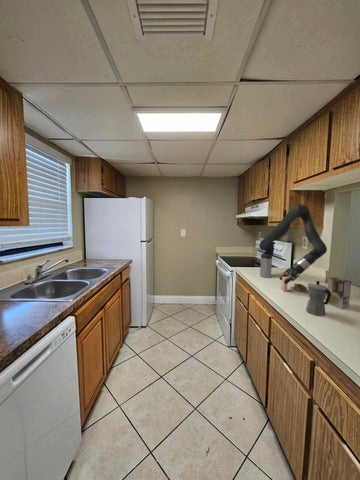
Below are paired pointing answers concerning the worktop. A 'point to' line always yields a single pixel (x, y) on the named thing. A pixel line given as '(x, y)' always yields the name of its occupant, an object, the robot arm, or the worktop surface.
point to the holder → (299, 288)
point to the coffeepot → (317, 299)
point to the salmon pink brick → (284, 285)
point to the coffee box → (339, 292)
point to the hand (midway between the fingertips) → (282, 281)
